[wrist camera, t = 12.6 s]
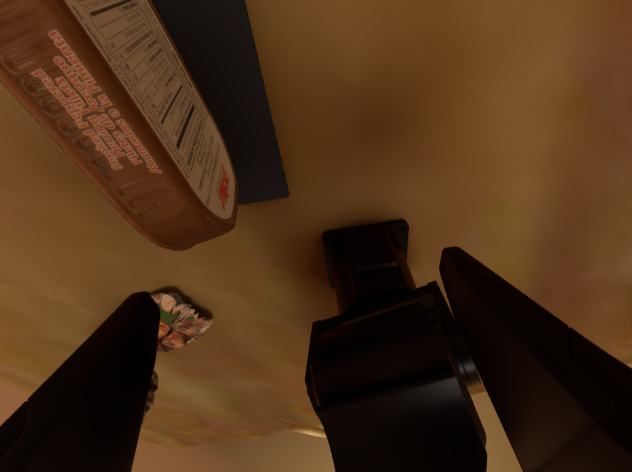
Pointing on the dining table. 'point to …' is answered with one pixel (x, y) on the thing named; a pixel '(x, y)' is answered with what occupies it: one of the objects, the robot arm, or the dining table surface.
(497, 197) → the dining table surface
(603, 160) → the dining table surface
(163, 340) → the plant with pod
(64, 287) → the dining table surface
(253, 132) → the placemat
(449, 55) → the dining table surface
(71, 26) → the tin
